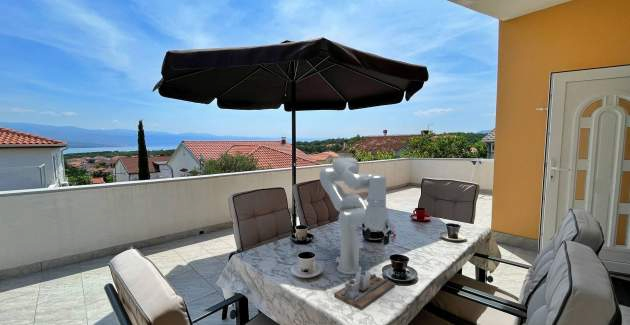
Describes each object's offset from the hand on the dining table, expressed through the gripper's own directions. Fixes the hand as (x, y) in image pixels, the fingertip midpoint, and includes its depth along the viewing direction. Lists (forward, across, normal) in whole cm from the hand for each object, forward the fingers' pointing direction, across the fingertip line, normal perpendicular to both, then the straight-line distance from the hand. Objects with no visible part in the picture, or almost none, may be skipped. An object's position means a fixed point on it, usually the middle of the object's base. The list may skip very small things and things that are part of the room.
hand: (376, 241), depth 123 cm
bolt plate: (+22, -2, -5) cm, 23 cm away
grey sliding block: (+20, -2, -7) cm, 21 cm away
